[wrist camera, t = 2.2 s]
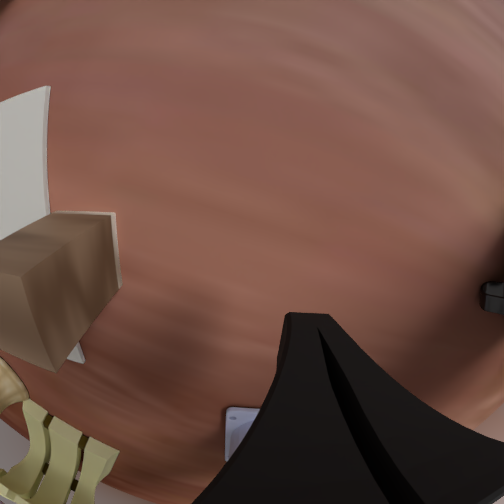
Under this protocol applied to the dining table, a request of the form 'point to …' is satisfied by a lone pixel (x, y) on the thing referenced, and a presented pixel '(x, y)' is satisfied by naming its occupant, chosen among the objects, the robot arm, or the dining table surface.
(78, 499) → the slatted curved stool
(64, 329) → the walnut block
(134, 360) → the dining table surface
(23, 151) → the felt mat
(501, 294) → the coffee press
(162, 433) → the dining table surface
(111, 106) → the dining table surface
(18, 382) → the hand bell
